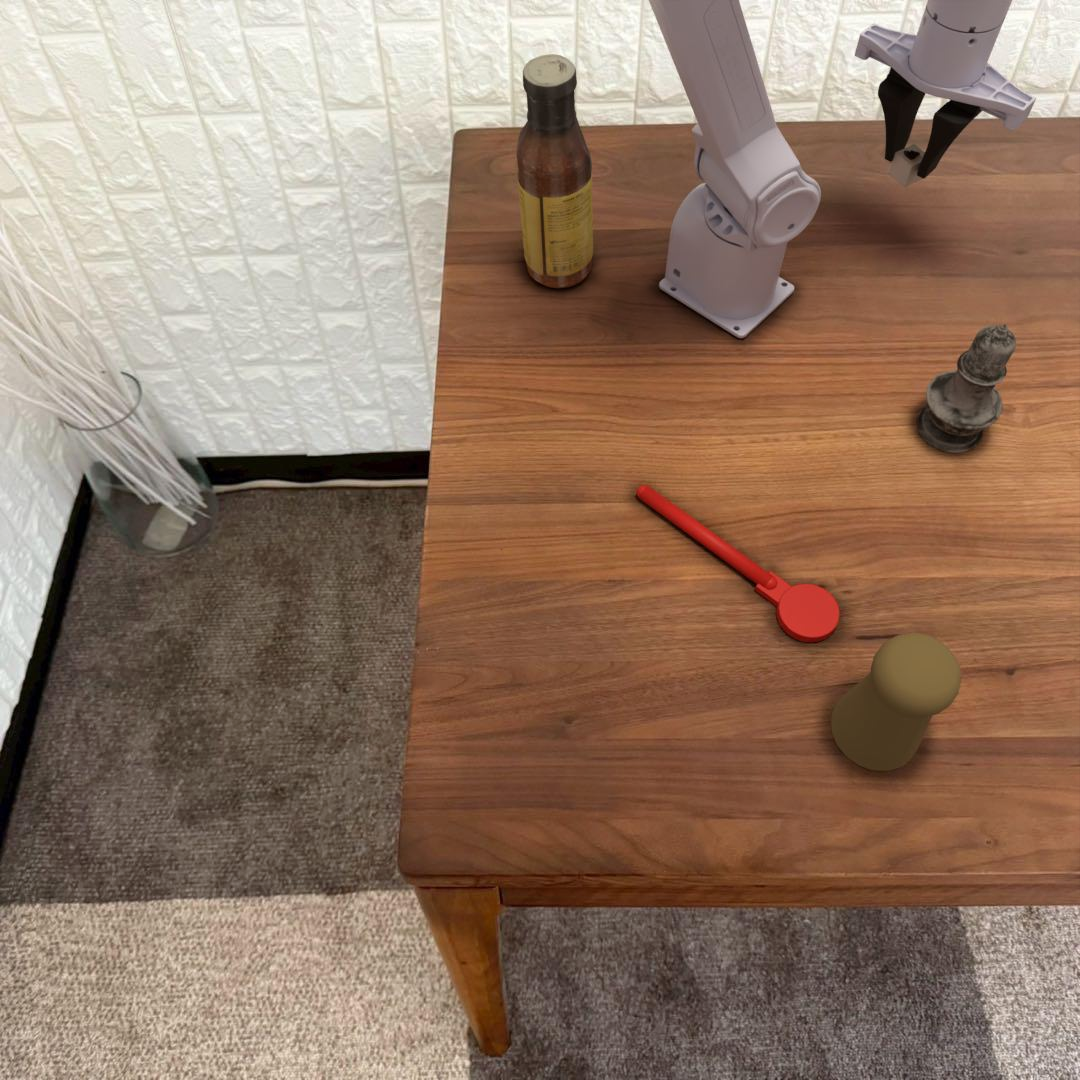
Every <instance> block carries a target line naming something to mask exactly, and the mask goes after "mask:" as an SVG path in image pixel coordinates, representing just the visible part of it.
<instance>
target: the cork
mask: <svg viewBox="0 0 1080 1080" xmlns="http://www.w3.org/2000/svg"><path fill="white" fill-rule="evenodd" d="M962 679H963V677H962V671H961V666H960V663H959V662H958V659H957V657H956V655H955V654H954V652H952V650H951V649H950V648H949V647H948V646H947V645H946V644H945V643H944V642H942V641H940V640H939V639H937V638H936V637H934V636H930V635H927V634H924V633H922V632H906V633H902V634H901V633H900V634H897V635H894V636H893V637H891V638H890V639H889V640H887V641H885V642H884V643H882V644H881V645H880V647H879V648H878V650H877V651H876V652H875V654H874V656H873V659H872V662H871V665H870V671H869V673H868V674H866V675H865V677H863V678H862V679H861V680H860V681H859V682H857V683H856V684H855V685H854V686H852V688H850V689H849V690H848V691H847V692H846V693H845V694H843V695H842V696H841V697H840V698H839V700H838V701H837V703H836V704H835V705H834V707H833V709H832V713H831V717H830V729H831V734H832V737H833V739H834V742H835V745H836V746H837V748H838V749H840V751H841V752H842V753H843V755H844V756H845V757H846V758H847V759H849V760H850V761H851V762H853V763H854V764H856V765H857V766H860V767H862V768H865V769H868V770H870V771H876V772H877V771H878V772H888V771H893V770H896V769H901V768H902V767H903V766H905V765H906V764H908V763H910V762H911V760H912V759H913V757H914V756H915V754H916V752H917V751H918V750H919V747H920V745H921V743H922V740H923V739H924V736H925V734H926V732H927V729H928V727H929V725H930V723H931V720H932V718H933V716H936V715H939V714H940V713H942V712H943V711H945V710H947V709H948V708H949V707H950V706H951V705H952V704H953V702H954V701H955V699H956V698H957V697H958V695H959V693H960V688H961V682H962Z"/></svg>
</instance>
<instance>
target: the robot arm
mask: <svg viewBox="0 0 1080 1080" xmlns="http://www.w3.org/2000/svg"><path fill="white" fill-rule="evenodd" d="M1012 2H1013V0H927V2H926V4H925V8H924V10H923V14H922V17H921V20H920V23H919V26H918V30H917V32H916V34H912V33H908V32H903V31H898V30H894V29H891V28H887V27H884V26H881V25H878V24H876V23H872V24H870V26H868V27H867V28H866V29H864V30H863V31H862V32H861V33H860V34H859V37H858V40H857V45H856V48H855V51H854V57H856V58H858V59H861V60H863V61H867V60H868V59H869V58H870V59H872V60H874V61H877V62H879V63H881V64H883V65H886V66H887V67H889V71H888V74H886V78H884V79H883V80H882V81H881V82H880V83H879V85H878V89H877V96H878V99H879V101H880V102H879V103H880V105H881V108H882V113H883V117H884V124H885V125H884V127H885V149H884V160H886V161H888V162H890V163H892V161H893V158H894V155H895V152H898V151H900V150H902V149H904V148H906V147H907V145H908V143H909V140H910V137H911V133H912V130H913V127H914V124H915V121H916V117H917V116H918V115H917V114H918V112H919V109H920V108H921V105H922V103H923V100H924V98H925V96H926V94H927V95H930V96H933V97H935V98H941V99H945V100H948V101H946V102H945V104H943V105H942V106H941V107H939V109H938V110H936V111H935V112H934V114H933V117H932V124H931V131H930V136H929V139H928V142H927V146H926V149H925V151H924V152H925V154H924V156H923V158H922V161H921V163H920V165H919V168H918V172H917V176H919V177H921V178H923V179H926V178H927V177H928V176H930V174H932V172H933V171H934V170H935V169H937V166H938V165H939V163H940V161H941V160H942V158H943V156H944V155H945V153H946V152H947V150H948V149H949V148H950V146H951V145H952V144H953V142H954V141H955V140H956V139H957V138H958V137H959V135H960V134H961V133H962V132H963V131H964V130H965V128H967V127H968V126H969V124H970V123H972V121H973V120H974V119H976V118H977V117H978V116H979V115H980V114H981V113H982V112H984V113H986V114H989V115H991V116H993V117H994V118H997V119H998V120H1000V121H1003V123H1002V126H1003V128H1004V129H1005V128H1006V129H1007V130H1009V131H1011V132H1016V131H1017V130H1018V129H1019V128H1020V127H1021V126H1022V125H1023V124H1024V123H1025V122H1026V121H1027V120H1028V118H1029V115H1030V114H1031V111H1032V109H1033V107H1034V104H1035V102H1036V100H1037V97H1036V96H1033V95H1032V94H1029V93H1027V92H1026V91H1024V90H1022V89H1021V88H1019V87H1018V86H1017V85H1015V84H1014V83H1013V82H1012V81H1010V80H1009V79H1008V78H1007V77H1006V76H1005V75H1003V74H1002V73H1001V72H999V71H998V70H997V69H995V68H994V67H993V65H991V64H990V63H988V62H989V60H990V57H991V54H992V52H993V49H994V47H995V44H996V42H997V39H998V37H999V35H1000V32H1001V30H1002V27H1003V24H1004V21H1005V19H1006V17H1007V15H1008V12H1009V9H1010V7H1011V4H1012ZM648 3H649V4H650V8H651V9H652V12H653V14H654V18H655V20H656V22H657V25H658V27H659V30H660V32H661V34H662V37H663V39H664V42H665V45H666V47H667V50H668V52H669V55H670V57H671V60H672V62H673V64H674V67H675V69H676V72H677V75H678V77H679V80H680V82H681V84H682V86H683V89H684V92H685V94H686V96H687V100H688V101H689V104H690V107H691V109H692V111H693V115H694V116H695V119H696V121H697V123H696V124H695V125H694V126H693V127H692V129H691V133H692V136H693V138H694V143H695V151H694V155H693V168H694V172H695V174H696V176H697V177H698V178H699V179H700V180H701V181H702V182H703V183H700V184H698V185H697V186H696V187H694V188H693V189H692V190H691V191H690V192H689V193H688V195H687V196H685V198H684V199H683V201H682V202H681V204H680V205H679V207H678V209H677V211H676V213H675V216H674V218H673V221H672V224H671V227H670V233H669V241H668V247H667V248H668V249H667V257H666V266H665V274H664V278H662V279H661V280H660V281H659V283H658V288H659V289H660V291H661V290H662V291H663V292H665V293H666V294H668V295H669V296H671V297H673V298H674V299H676V300H677V301H679V302H680V303H682V304H684V305H685V306H686V307H688V308H690V309H691V310H693V311H695V312H696V313H698V314H699V315H701V316H703V317H704V318H706V319H707V320H709V321H711V322H712V323H714V325H717V326H719V327H720V328H722V329H723V330H725V331H727V332H728V333H729V334H731V335H732V336H734V337H736V338H738V339H745V338H746V337H747V336H748V335H749V334H750V333H752V332H753V330H755V328H757V327H758V326H759V325H760V324H761V323H762V322H763V321H764V320H765V319H767V317H769V316H770V315H771V314H772V313H773V312H774V311H775V310H776V309H777V308H778V307H779V306H780V305H781V304H783V302H784V301H786V300H788V298H789V297H790V296H791V295H792V294H793V293H794V291H795V285H794V284H792V283H790V282H789V281H787V280H785V279H784V278H782V277H780V273H781V270H782V266H783V262H784V258H785V254H786V251H787V245H788V242H790V241H791V240H793V239H795V238H796V237H797V236H798V235H800V234H801V233H802V232H803V231H804V230H805V229H806V228H807V227H808V225H809V224H810V223H811V222H812V220H813V218H814V217H815V215H816V213H817V211H818V209H819V206H820V204H821V198H822V191H821V187H820V185H819V183H818V182H817V181H816V179H814V178H813V177H811V176H809V175H808V174H807V173H806V172H805V171H804V170H803V169H802V166H801V163H800V161H799V159H798V157H797V156H796V154H795V153H794V151H793V150H792V148H791V146H790V145H789V143H788V142H787V139H786V138H785V137H784V135H783V134H782V131H781V130H780V129H779V127H778V126H777V122H776V119H775V116H774V112H773V108H772V105H771V102H770V98H769V95H768V92H767V89H766V85H765V82H764V79H763V76H762V72H761V70H760V66H759V62H758V59H757V56H756V53H755V49H754V45H753V43H752V42H753V41H752V39H751V36H750V31H749V29H748V26H747V21H746V19H745V15H744V12H743V9H742V6H741V3H740V0H648ZM923 179H922V180H923Z"/></svg>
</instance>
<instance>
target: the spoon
mask: <svg viewBox="0 0 1080 1080" xmlns="http://www.w3.org/2000/svg"><path fill="white" fill-rule="evenodd" d="M636 497H637V498H638V499H639V500H640V501H641V502H643V503H645V504H646V505H647V506H649V507H650V508H651V509H653V510H654V511H656V512H657V513H658V514H659V515H661V516H663V517H664V518H665V519H667V520H668V521H670V522H671V523H672V524H673V525H675V526H676V527H677V528H679V529H680V530H682V531H683V532H684V533H686V534H687V535H689V536H690V537H691V538H692V539H694V540H695V541H696V542H699V544H701V545H702V546H703V547H705V548H706V549H707V550H709V551H710V552H711V553H713V554H715V555H716V556H717V557H719V558H720V559H721V560H722V561H724V562H725V563H726V564H728V565H729V566H731V567H732V568H734V569H735V570H736V571H738V572H739V573H741V575H743V576H744V577H746V578H747V579H749V580H750V581H752V582H753V583H754V584H756V585H755V588H754V591H755V592H756V593H758V594H759V595H761V596H762V598H763V597H764V598H765V600H767V601H769V602H770V603H771V604H773V605H774V606H775V607H776V619H777V621H778V624H779V626H780V627H781V629H782V630H783V631H784V632H785V633H786V634H787V635H789V636H790V637H791V638H793V639H795V640H797V641H800V642H803V643H817V642H821V641H824V640H825V639H827V638H829V637H830V636H831V635H832V634H833V633H834V632H835V630H836V628H837V626H838V624H839V621H840V607H839V604H838V602H837V600H836V599H835V598H834V596H833V595H832V594H831V593H830V592H829V591H827V590H826V589H825V588H823V587H821V586H820V585H816V584H812V583H798V584H796V585H795V584H794V585H793V586H792V585H791V584H790V583H788V582H786V581H785V579H783V578H781V576H778V575H777V574H776V573H774V572H772V571H771V570H769V571H767V570H765V569H764V568H762V567H761V566H760V565H758V564H757V563H755V562H754V561H753V560H752V559H750V558H749V557H748V556H746V555H744V554H743V553H741V551H739V550H737V548H735V547H734V546H732V545H731V544H730V543H728V542H727V541H726V540H724V539H723V538H721V537H719V536H718V535H717V534H716V533H715V532H713V531H711V530H710V529H708V528H707V527H706V526H704V525H703V524H702V523H700V522H699V521H697V520H696V519H695V518H693V517H692V516H690V515H689V514H688V513H687V512H685V511H683V510H682V509H681V508H679V506H677V505H676V504H674V503H672V502H671V501H670V500H668V499H667V498H666V497H664V496H663V495H661V494H660V493H659V492H658V491H656V490H655V489H653V487H651V486H649V485H647V484H641V485H640V486H638V488H637V489H636Z"/></svg>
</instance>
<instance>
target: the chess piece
mask: <svg viewBox="0 0 1080 1080" xmlns="http://www.w3.org/2000/svg"><path fill="white" fill-rule="evenodd" d="M1016 347H1017V340H1016V337H1015V335H1014V333H1013V332H1012V331H1011V330H1009V327H1008V326H1007V324H1005V323H1003V324H1000V325H988V326H985V327H982V328H981V329H980V330H979V331H978V332H977V334H975V336H974V339H973V340H972V343H971V344H970V346H969V348H968V350H966V351H964V352H962V353H961V354H960V355H959V356H958V359H957V360H956V368H957V369H956V370H950V371H945V372H942V373H939V374H937V375H936V376H935V377H933V378H932V379H931V380H930V382H929V383H928V385H927V386H926V391H925V399H926V405H925V406H923V407H922V408H921V409H920V411H919V412H918V413H917V416H916V421H915V422H916V429H917V431H918V434H919V435H920V436H921V438H922V439H923V440H924V441H925V442H926V443H927V444H929V445H930V446H931V447H933V448H935V449H937V450H939V451H941V452H944V453H949V454H951V453H952V454H961V453H966V452H970V451H972V450H973V449H974V448H976V447H977V446H979V444H980V442H981V441H982V438H983V436H984V430H985V429H986V428H988V427H991V426H992V425H994V423H996V422H997V421H998V420H999V419H1000V417H1001V415H1002V413H1003V407H1004V404H1003V398H1002V396H1001V393H1000V392H999V390H998V389H997V388H996V385H999V384H1000V383H1001V382H1003V381H1004V380H1005V378H1006V376H1007V373H1008V371H1007V369H1008V368H1007V366H1006V365H1008V362H1009V360H1010V359H1011V357H1012V355H1013V353H1014V352H1015V350H1016Z"/></svg>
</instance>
